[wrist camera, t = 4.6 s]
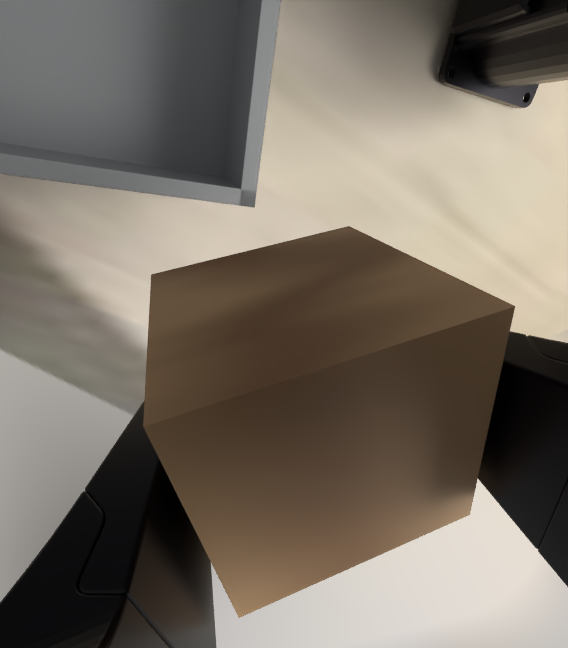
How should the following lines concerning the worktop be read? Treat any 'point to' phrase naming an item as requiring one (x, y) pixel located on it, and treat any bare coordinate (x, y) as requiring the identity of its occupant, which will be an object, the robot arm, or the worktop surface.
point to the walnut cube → (318, 404)
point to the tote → (138, 94)
